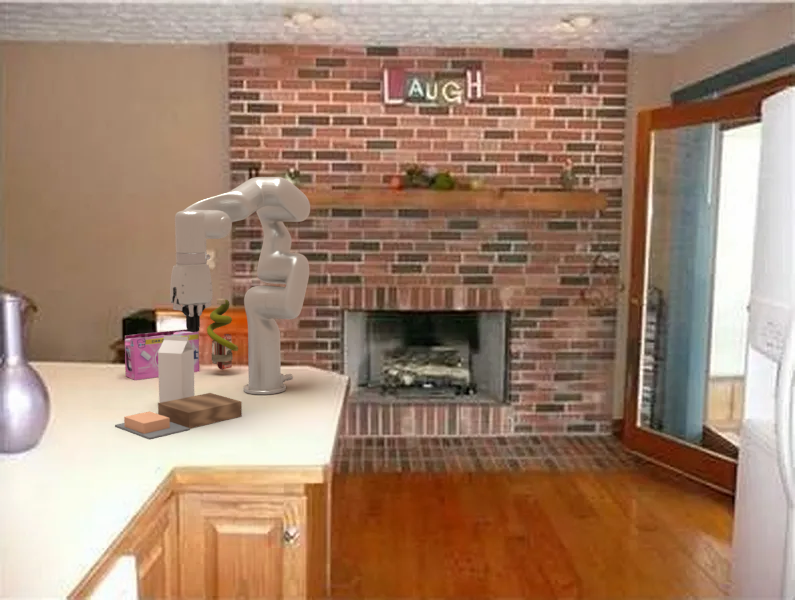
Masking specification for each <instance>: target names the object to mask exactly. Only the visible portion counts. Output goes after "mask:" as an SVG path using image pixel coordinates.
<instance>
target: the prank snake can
mask: <svg viewBox="0 0 795 600" xmlns="http://www.w3.org/2000/svg"><path fill="white" fill-rule="evenodd" d="M216 304H217V305H220V306H218V307H217V308H215V309H214V310H213V311H211V312H210V314H209V318H210V320H211V321H212V323H210V324H209V325H208V326H207V327H206V332H207V333H206V335H208V337H210V338H211V349H212V350H211V351H212V352H211V361H212V364H214V365H217V367H218V369H219V370H225V369H230V368H232V367H233V363H232V362H233V361H232V360H233V351H234V352H238V351H239V346H238V345H237V344H235V343H233V342H232V341H233V339H232V334H231V333H223V336H220V335H218V334H217V333H216V332H214V330H216V329H218V328H221V327H225V326H228V325H230V324H231V323H232V321H233V318H232V317H231V316H230V315H225V313H226V312H227V311H228V310H229V308H230V306H231V305H230V301H229V300H228V299H226V298H216Z"/></svg>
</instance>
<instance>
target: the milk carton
mask: <svg viewBox="0 0 795 600" xmlns="http://www.w3.org/2000/svg"><path fill="white" fill-rule="evenodd" d="M158 370H159V377H158V400H159V402H158V403H161V402H166V401H172V400H177V399H182V398H187V397H192V396H195V372H194V350H193V348H192V346H191V345H190V343H189V342H188V337H178V336H164V341H163V343H162V345H161V347H160V349H159V351H158Z"/></svg>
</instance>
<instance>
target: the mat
mask: <svg viewBox="0 0 795 600" xmlns="http://www.w3.org/2000/svg"><path fill="white" fill-rule="evenodd" d="M114 427H115V428H119V429H120V430H123V431H125V432H126V431H127V432H129V433H132V434H135V435H137V436H140V437H143V438H145V439H148V440H152V439H157V438H161V437H164V436H168V435H169V436H170V435H174V434H178V433H181V432H187V431H190V430H191V428H188V427H185V426H182V425H179V424H176V423H173V422H170V428H167V429H162V430H158V431H154V432H149V433H145V434H143V433H141V432H138V431H135V430H132V429H130V428H127V427H125V425H124V422H122V423H117V424H114Z"/></svg>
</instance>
